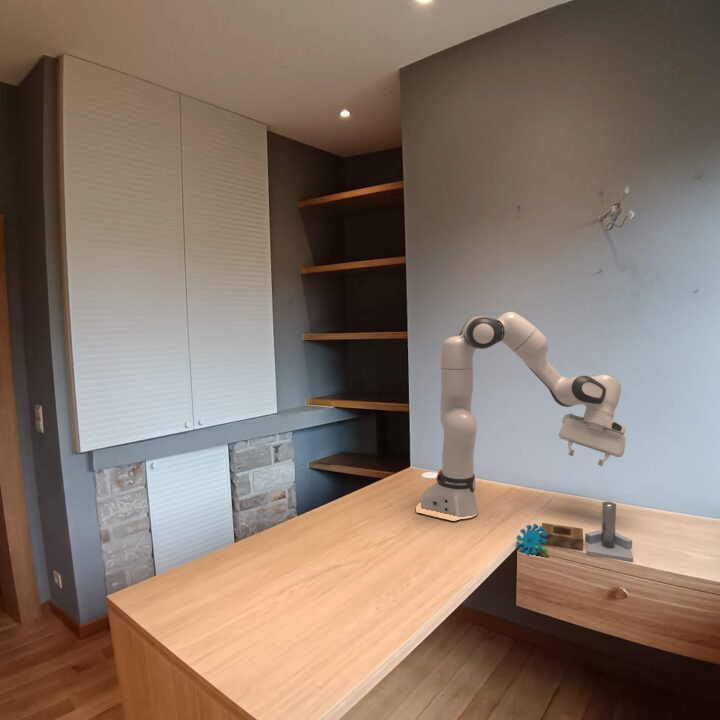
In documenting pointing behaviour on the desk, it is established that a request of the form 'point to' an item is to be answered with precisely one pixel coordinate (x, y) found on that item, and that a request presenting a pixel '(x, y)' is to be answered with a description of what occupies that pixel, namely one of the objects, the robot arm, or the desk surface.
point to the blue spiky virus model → (532, 540)
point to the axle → (608, 524)
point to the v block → (619, 552)
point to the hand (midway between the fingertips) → (585, 460)
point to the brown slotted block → (563, 536)
